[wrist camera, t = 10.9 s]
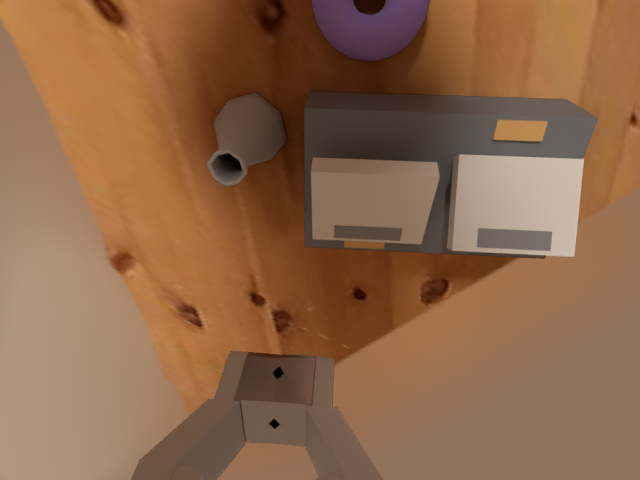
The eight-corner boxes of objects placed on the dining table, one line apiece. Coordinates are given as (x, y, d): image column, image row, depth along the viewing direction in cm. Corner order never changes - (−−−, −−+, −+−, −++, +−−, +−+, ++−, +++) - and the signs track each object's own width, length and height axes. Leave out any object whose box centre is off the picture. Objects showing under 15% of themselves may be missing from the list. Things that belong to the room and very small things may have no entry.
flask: (300, 141, 43) (288, 183, 34) (245, 174, 45) (221, 221, 37) (258, 78, 40) (233, 107, 31) (201, 117, 42) (164, 154, 34)
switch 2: (453, 156, 36) (459, 154, 34) (571, 161, 36) (584, 159, 34) (446, 248, 37) (452, 250, 35) (562, 254, 36) (574, 256, 34)
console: (310, 91, 40) (302, 113, 34) (566, 99, 39) (608, 124, 32) (309, 219, 48) (303, 257, 41) (523, 229, 47) (550, 269, 40)
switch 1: (312, 157, 34) (310, 172, 33) (437, 162, 33) (439, 177, 32) (313, 224, 40) (312, 239, 39) (419, 229, 39) (421, 244, 38)
